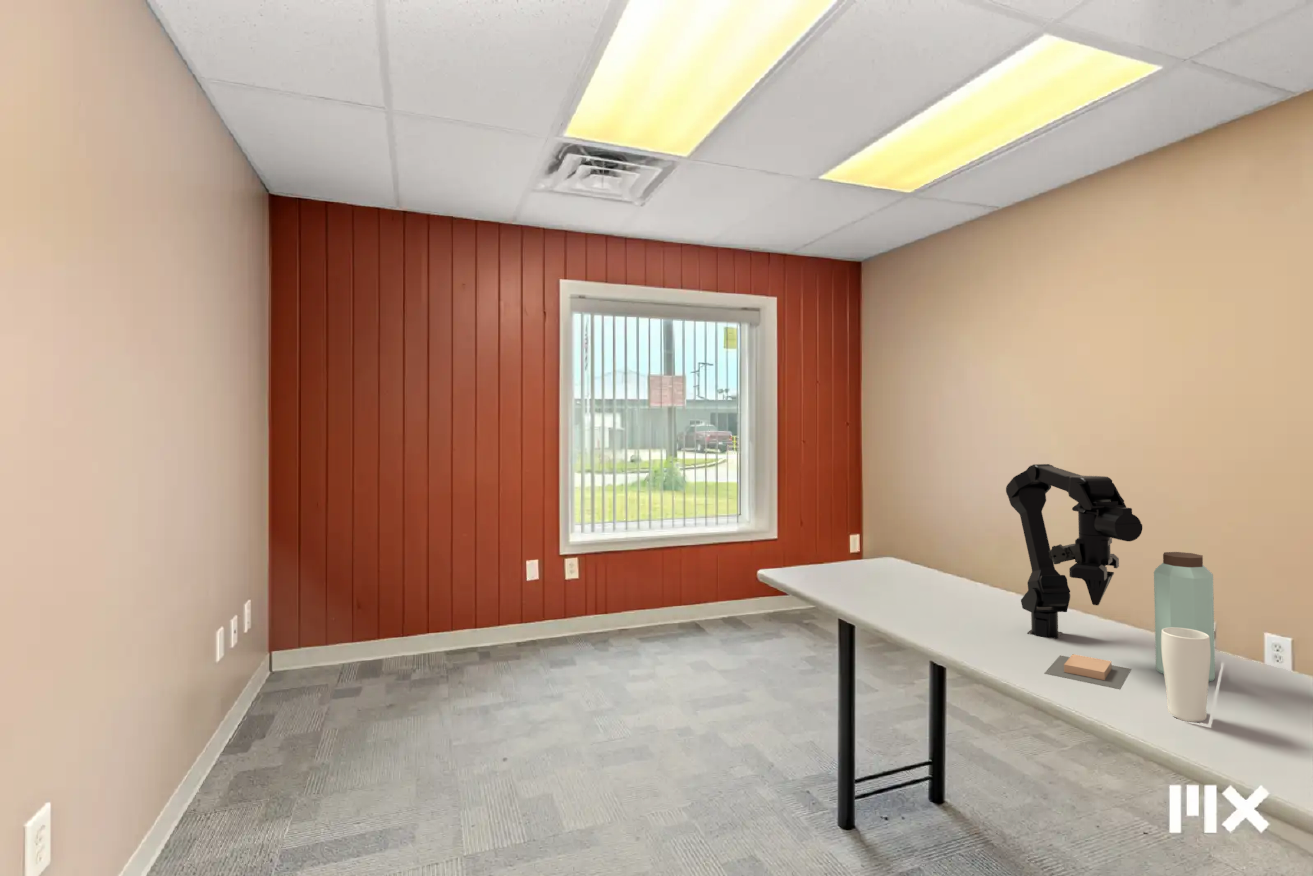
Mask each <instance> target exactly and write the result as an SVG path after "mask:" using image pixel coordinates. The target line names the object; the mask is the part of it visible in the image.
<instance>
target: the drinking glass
mask: <svg viewBox="0 0 1313 876" xmlns="http://www.w3.org/2000/svg"><path fill="white" fill-rule="evenodd" d="M1161 652H1162V661H1163V669H1164V674H1163V676H1164V685H1165V691H1166V700H1167V701H1166V702H1167V706H1166V708H1167V712H1168V713H1169V714H1170V715H1172V717H1173V718H1175V719H1177V720H1181V721H1182V722H1183V721H1184V722H1188V723H1199V722H1201V721H1205V720H1207V714H1208V713H1207V705H1208V693H1209V692H1208V691H1209V682H1210V681H1209V673H1210V660H1211V650H1210V637H1209V635H1207V634H1206V633H1203V632H1200V631H1197V630H1192V629H1186V628H1176V627H1170V628H1164V629H1162V631H1161Z"/></svg>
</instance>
